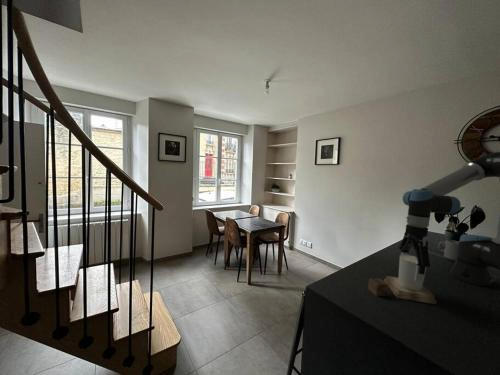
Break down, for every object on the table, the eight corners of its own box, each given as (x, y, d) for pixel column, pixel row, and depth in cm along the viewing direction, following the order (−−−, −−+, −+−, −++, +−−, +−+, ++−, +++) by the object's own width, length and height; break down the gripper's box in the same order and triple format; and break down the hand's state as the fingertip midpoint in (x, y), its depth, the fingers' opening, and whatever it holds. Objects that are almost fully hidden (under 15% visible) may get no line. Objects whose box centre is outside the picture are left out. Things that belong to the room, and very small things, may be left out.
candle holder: (416, 281, 100) (419, 256, 99) (428, 293, 90) (433, 265, 89) (392, 278, 102) (395, 253, 101) (402, 289, 92) (406, 261, 91)
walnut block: (378, 289, 97) (379, 278, 97) (386, 295, 92) (388, 284, 92) (367, 289, 96) (369, 278, 96) (375, 295, 91) (377, 284, 91)
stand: (417, 286, 102) (418, 280, 102) (435, 304, 88) (437, 297, 88) (384, 281, 105) (384, 275, 104) (397, 297, 91) (398, 290, 91)
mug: (461, 258, 143) (463, 242, 142) (461, 262, 137) (464, 245, 136) (437, 252, 151) (439, 237, 150) (436, 255, 145) (438, 239, 144)
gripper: (394, 218, 107) (389, 260, 109) (423, 232, 82) (415, 286, 84) (412, 220, 105) (406, 262, 107) (446, 235, 81) (438, 289, 83)
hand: (410, 273), depth 96 cm, fingers open, 13 cm apart
